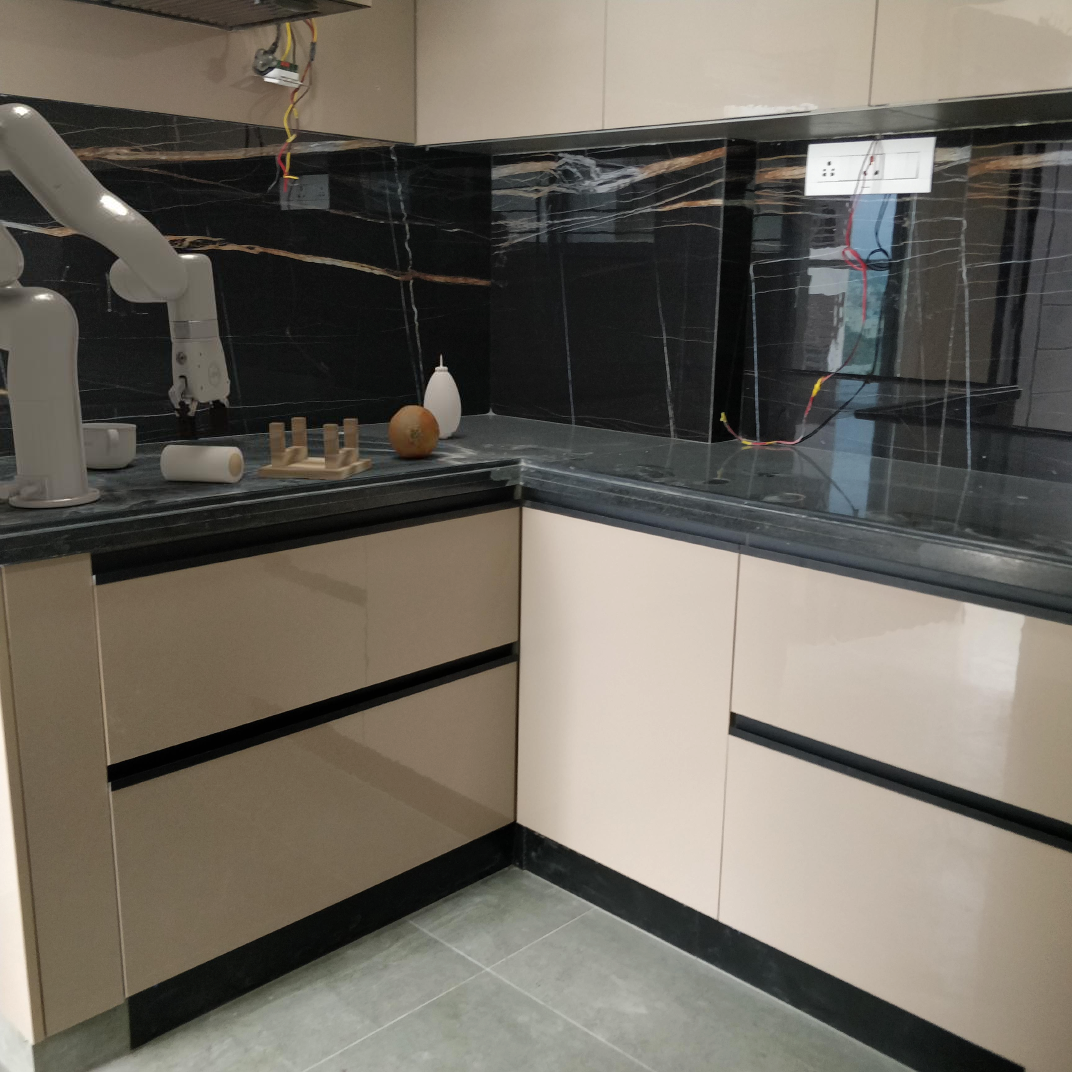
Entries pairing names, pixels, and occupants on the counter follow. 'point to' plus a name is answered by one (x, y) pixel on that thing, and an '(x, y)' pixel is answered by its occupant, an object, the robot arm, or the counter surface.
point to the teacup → (109, 444)
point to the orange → (414, 432)
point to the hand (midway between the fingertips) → (205, 435)
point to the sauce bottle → (443, 401)
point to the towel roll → (202, 463)
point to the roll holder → (301, 466)
